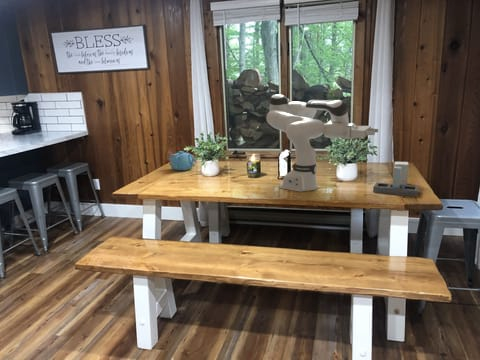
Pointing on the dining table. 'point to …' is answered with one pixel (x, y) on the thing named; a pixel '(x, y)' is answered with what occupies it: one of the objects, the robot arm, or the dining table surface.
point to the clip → (396, 177)
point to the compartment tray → (396, 189)
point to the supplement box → (403, 171)
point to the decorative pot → (181, 161)
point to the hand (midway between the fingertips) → (376, 131)
